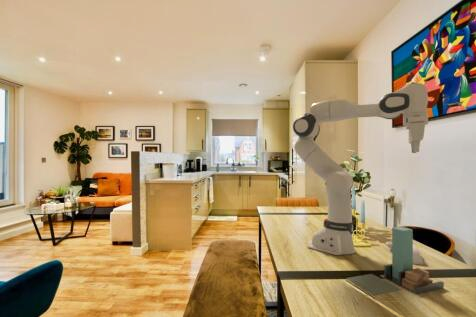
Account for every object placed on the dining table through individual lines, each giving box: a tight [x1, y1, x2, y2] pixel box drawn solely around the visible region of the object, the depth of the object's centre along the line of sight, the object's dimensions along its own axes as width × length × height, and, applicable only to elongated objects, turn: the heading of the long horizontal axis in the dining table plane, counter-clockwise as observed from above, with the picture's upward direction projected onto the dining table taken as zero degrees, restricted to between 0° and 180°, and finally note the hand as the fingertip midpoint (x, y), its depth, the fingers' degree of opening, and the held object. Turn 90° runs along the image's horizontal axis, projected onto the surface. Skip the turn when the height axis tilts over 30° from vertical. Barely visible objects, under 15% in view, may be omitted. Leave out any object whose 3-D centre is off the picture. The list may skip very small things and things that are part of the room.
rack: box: [379, 263, 445, 295], centre depth 86 cm, size 13×14×5 cm
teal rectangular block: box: [391, 226, 414, 280], centre depth 88 cm, size 5×4×18 cm
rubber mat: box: [345, 273, 403, 300], centre depth 84 cm, size 12×12×1 cm
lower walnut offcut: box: [402, 278, 434, 291], centre depth 82 cm, size 9×4×2 cm, turn 108°
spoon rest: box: [385, 241, 424, 266], centre depth 112 cm, size 24×12×7 cm, turn 167°
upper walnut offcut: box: [405, 267, 430, 284], centre depth 82 cm, size 7×4×2 cm, turn 114°
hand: (415, 152), depth 105 cm, fingers open, 8 cm apart
